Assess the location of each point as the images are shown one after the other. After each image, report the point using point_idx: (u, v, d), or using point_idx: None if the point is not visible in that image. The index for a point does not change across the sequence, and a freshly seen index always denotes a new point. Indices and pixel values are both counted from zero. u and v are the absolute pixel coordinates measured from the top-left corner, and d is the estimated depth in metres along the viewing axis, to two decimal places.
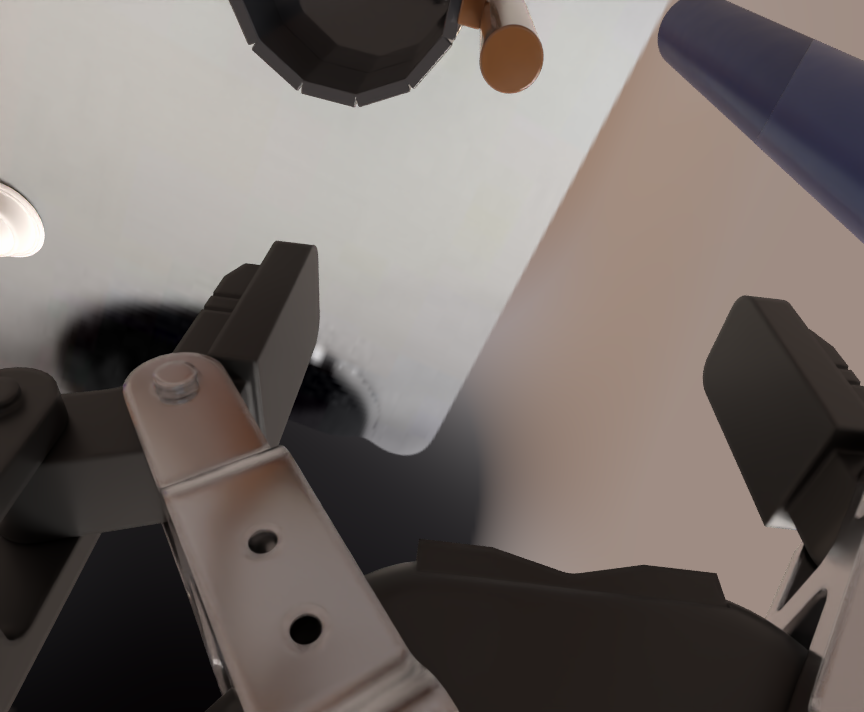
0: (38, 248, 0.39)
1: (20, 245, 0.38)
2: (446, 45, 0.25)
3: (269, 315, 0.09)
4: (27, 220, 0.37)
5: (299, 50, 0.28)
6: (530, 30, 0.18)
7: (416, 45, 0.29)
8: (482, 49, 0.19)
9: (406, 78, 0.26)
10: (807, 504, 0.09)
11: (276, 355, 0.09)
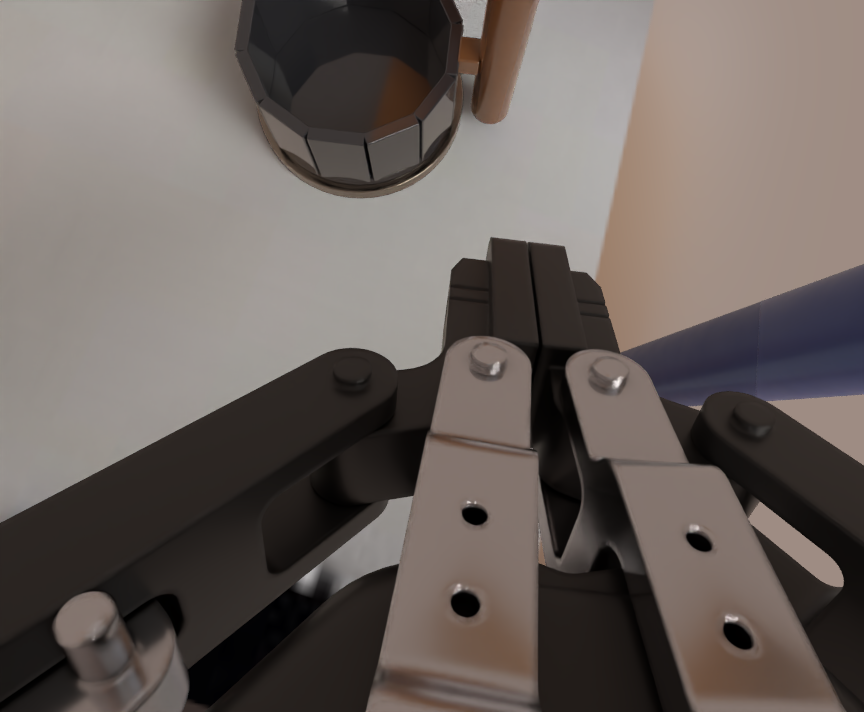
0: None
1: None
2: (450, 80, 0.26)
3: (525, 304, 0.10)
4: None
5: None
6: None
7: None
8: None
9: (414, 112, 0.26)
10: (537, 421, 0.10)
11: None
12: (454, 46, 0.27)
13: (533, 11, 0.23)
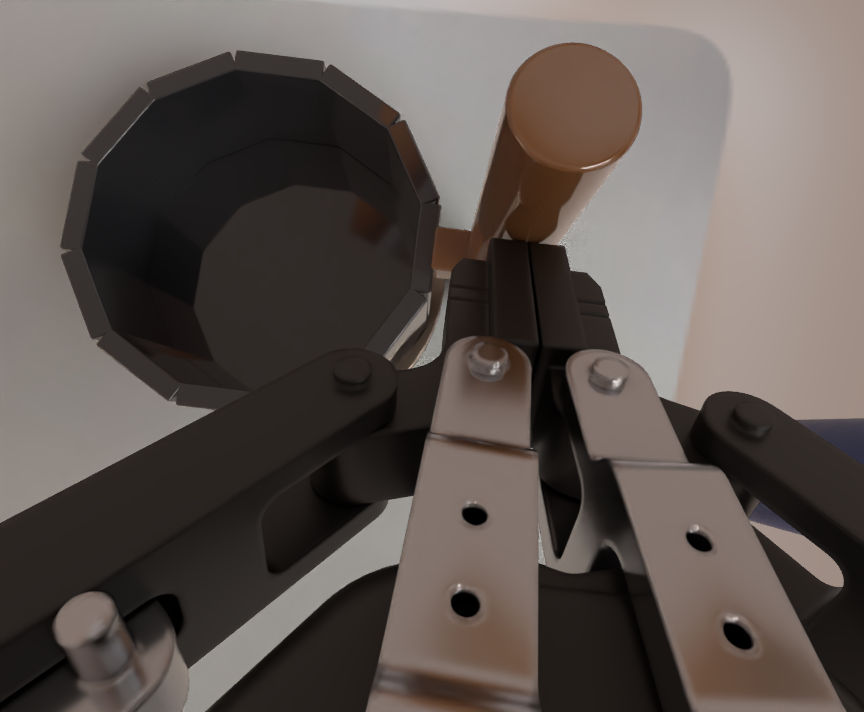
0: None
1: None
2: (418, 300, 0.16)
3: (526, 304, 0.10)
4: None
5: (189, 369, 0.18)
6: (600, 49, 0.09)
7: None
8: (508, 94, 0.09)
9: None
10: (537, 421, 0.10)
11: None
12: (425, 243, 0.16)
13: (563, 236, 0.12)
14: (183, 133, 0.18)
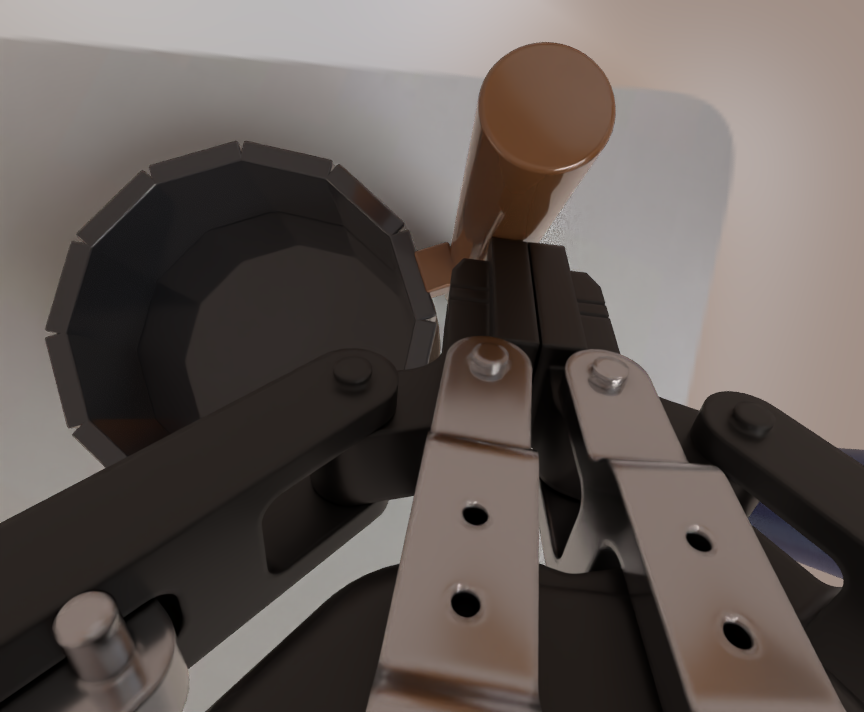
0: None
1: None
2: (429, 327, 0.16)
3: (526, 304, 0.10)
4: None
5: None
6: (547, 43, 0.09)
7: None
8: (482, 121, 0.09)
9: None
10: (537, 421, 0.10)
11: None
12: (411, 271, 0.16)
13: None
14: (128, 264, 0.18)
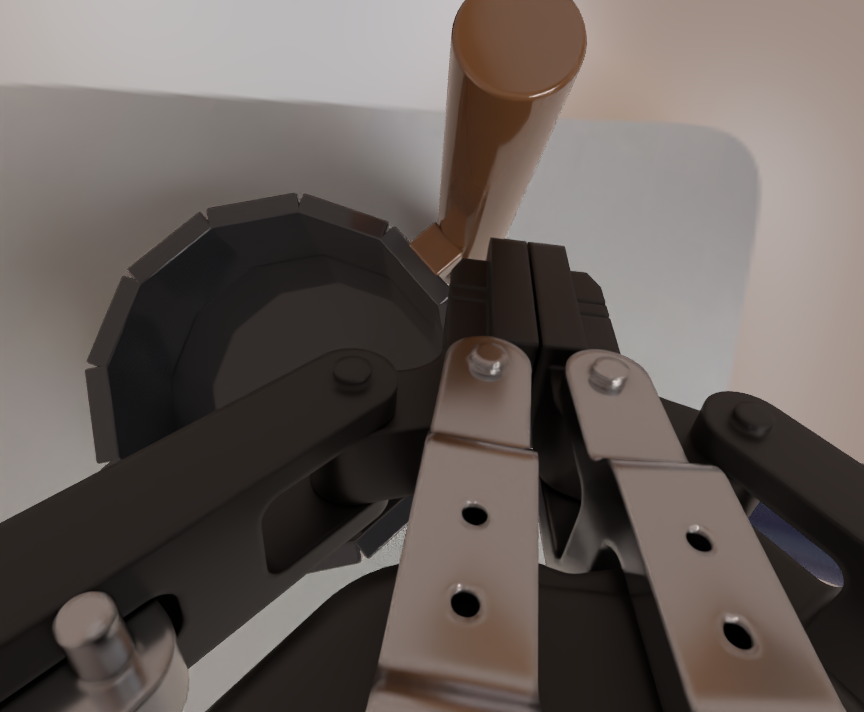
0: None
1: None
2: None
3: (525, 304, 0.10)
4: None
5: None
6: None
7: None
8: (467, 73, 0.09)
9: None
10: (537, 421, 0.10)
11: None
12: (414, 262, 0.16)
13: None
14: (142, 372, 0.18)
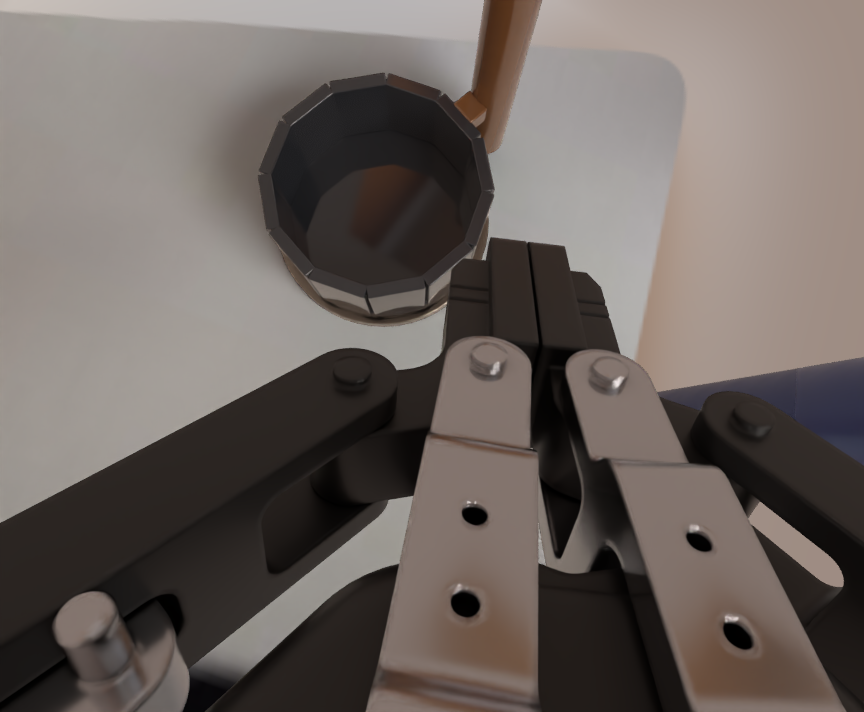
0: None
1: None
2: (480, 141, 0.26)
3: (525, 304, 0.10)
4: None
5: None
6: None
7: (465, 213, 0.30)
8: None
9: (481, 189, 0.26)
10: (537, 420, 0.10)
11: None
12: (456, 114, 0.26)
13: None
14: (282, 190, 0.28)
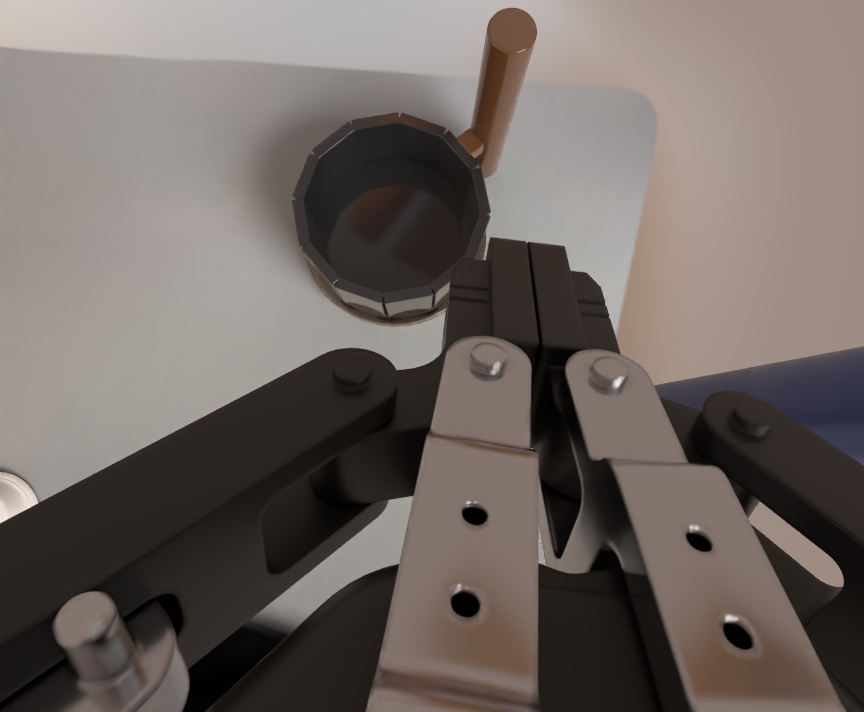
0: None
1: None
2: (479, 170, 0.31)
3: (525, 304, 0.10)
4: None
5: None
6: None
7: (466, 229, 0.35)
8: (492, 44, 0.24)
9: (479, 211, 0.31)
10: (537, 421, 0.10)
11: None
12: (459, 148, 0.31)
13: None
14: (310, 211, 0.33)
